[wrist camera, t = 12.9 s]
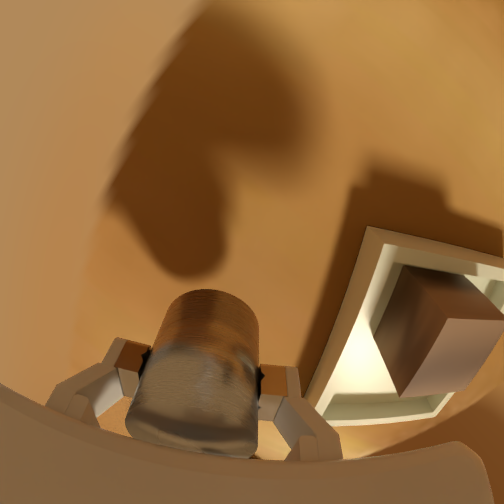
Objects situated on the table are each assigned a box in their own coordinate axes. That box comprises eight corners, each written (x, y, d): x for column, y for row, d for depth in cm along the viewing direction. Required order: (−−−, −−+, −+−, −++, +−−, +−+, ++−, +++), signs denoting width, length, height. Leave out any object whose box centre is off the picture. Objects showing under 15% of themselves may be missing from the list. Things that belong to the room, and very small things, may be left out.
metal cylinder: (165, 281, 12) (114, 389, 7) (267, 297, 13) (270, 418, 7) (166, 352, 14) (134, 451, 9) (250, 366, 15) (246, 471, 9)
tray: (366, 225, 15) (384, 243, 12) (503, 258, 15) (523, 273, 13) (301, 401, 20) (304, 426, 18) (426, 397, 21) (434, 416, 19)
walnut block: (403, 264, 15) (448, 318, 10) (463, 275, 15) (509, 320, 10) (372, 337, 17) (399, 397, 12) (432, 339, 17) (464, 390, 12)
